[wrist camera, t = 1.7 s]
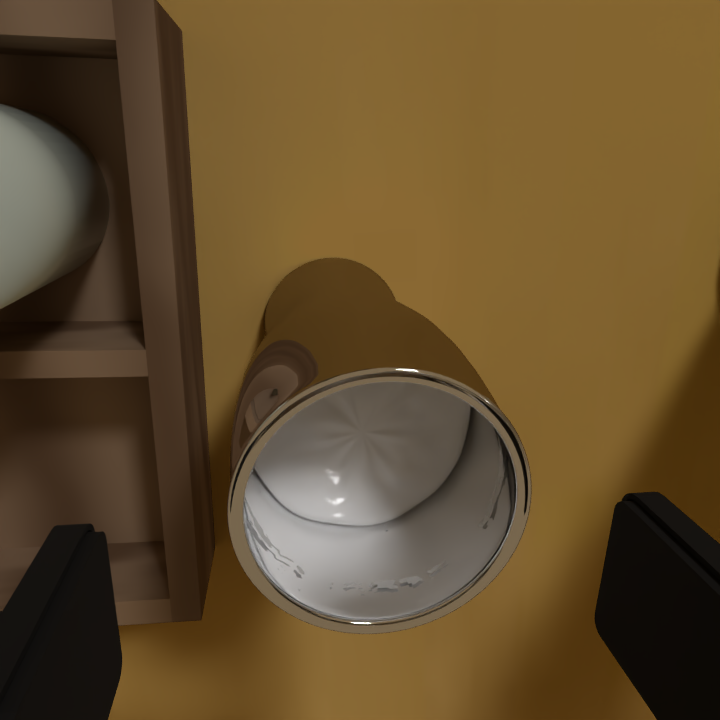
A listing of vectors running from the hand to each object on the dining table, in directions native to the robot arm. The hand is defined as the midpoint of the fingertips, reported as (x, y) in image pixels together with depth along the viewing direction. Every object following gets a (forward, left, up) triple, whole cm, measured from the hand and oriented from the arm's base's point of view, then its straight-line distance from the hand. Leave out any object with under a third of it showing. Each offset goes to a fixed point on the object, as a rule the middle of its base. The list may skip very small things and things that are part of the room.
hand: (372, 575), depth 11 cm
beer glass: (-1, 0, -17) cm, 17 cm away
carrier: (+11, 0, -17) cm, 20 cm away
